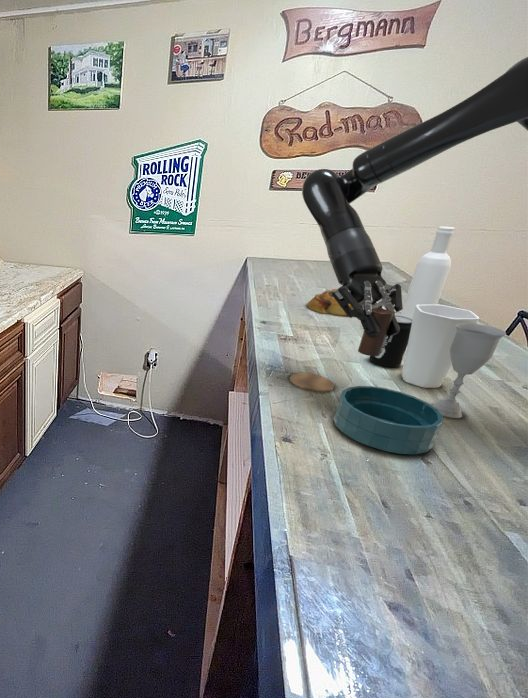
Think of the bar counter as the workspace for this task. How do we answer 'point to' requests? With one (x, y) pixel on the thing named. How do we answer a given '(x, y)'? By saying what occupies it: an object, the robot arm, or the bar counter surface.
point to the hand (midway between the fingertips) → (384, 334)
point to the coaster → (312, 382)
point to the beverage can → (394, 345)
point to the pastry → (326, 304)
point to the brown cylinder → (374, 344)
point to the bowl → (387, 419)
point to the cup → (432, 343)
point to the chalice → (468, 359)
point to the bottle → (430, 274)
